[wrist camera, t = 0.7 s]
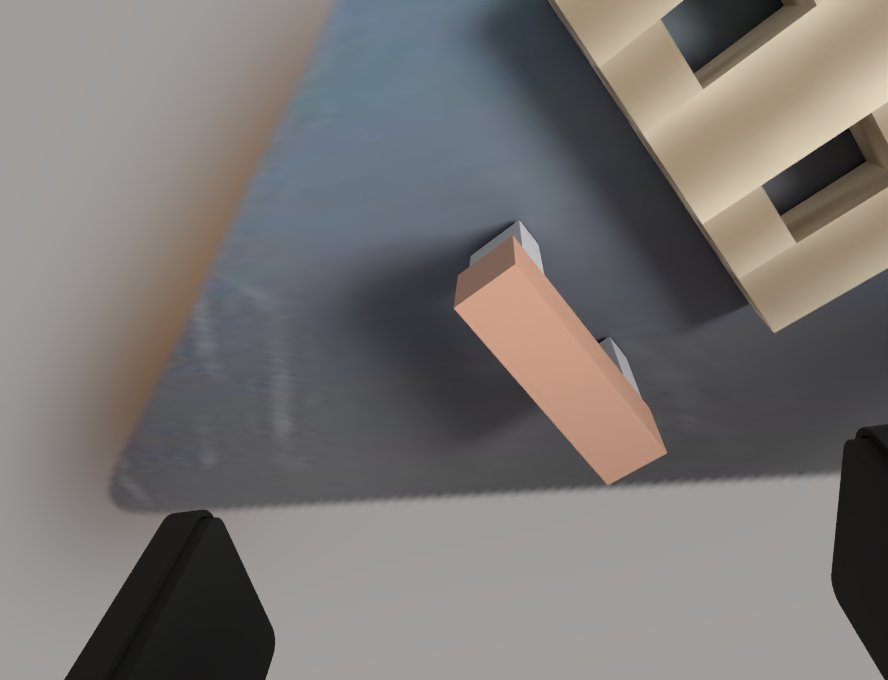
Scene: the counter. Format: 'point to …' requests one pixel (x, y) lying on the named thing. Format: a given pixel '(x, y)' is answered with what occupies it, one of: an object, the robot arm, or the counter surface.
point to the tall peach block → (557, 356)
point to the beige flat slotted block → (760, 136)
